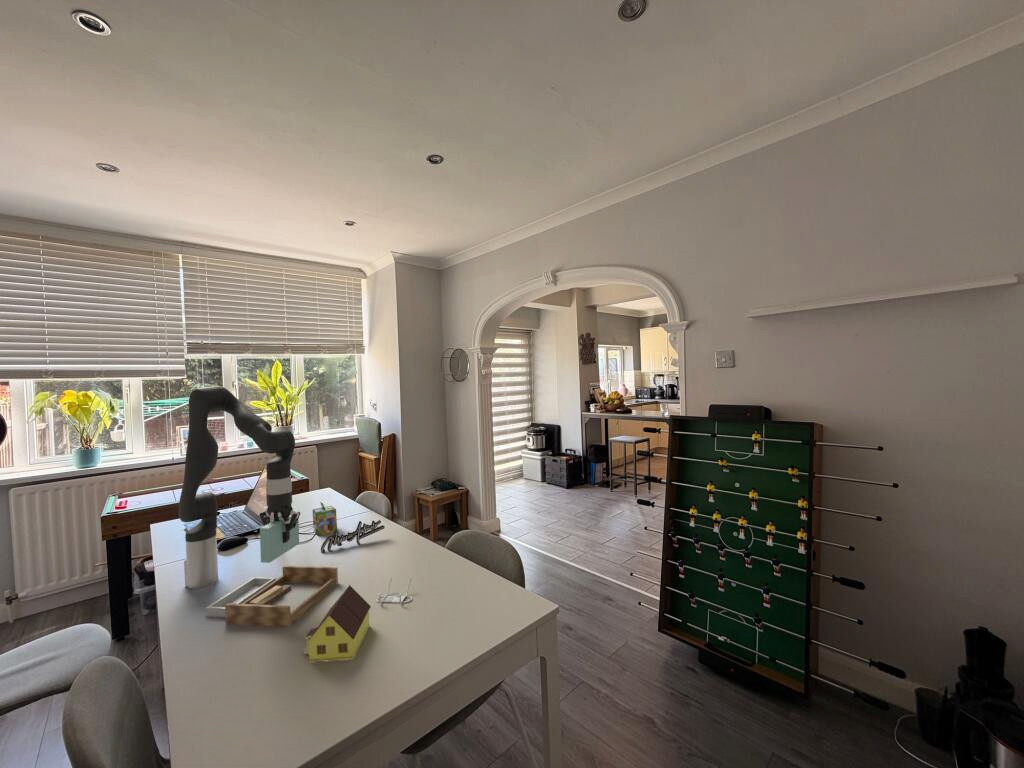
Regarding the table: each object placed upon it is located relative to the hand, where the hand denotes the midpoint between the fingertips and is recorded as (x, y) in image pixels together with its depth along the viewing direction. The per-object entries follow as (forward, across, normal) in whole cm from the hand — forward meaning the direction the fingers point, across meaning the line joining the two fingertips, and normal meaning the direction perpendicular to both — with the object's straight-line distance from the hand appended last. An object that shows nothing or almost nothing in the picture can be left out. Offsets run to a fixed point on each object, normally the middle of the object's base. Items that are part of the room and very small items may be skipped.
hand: (280, 541), depth 141 cm
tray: (+21, -14, 0) cm, 25 cm away
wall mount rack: (+20, +38, +5) cm, 43 cm away
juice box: (+22, -22, +62) cm, 70 cm away
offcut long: (+21, -4, -1) cm, 21 cm away
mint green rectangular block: (+4, 0, 0) cm, 4 cm away
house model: (+20, +32, -20) cm, 43 cm away
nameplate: (+21, +2, +47) cm, 52 cm away
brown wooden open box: (+20, +2, -1) cm, 20 cm away
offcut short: (+19, -4, -2) cm, 19 cm away
